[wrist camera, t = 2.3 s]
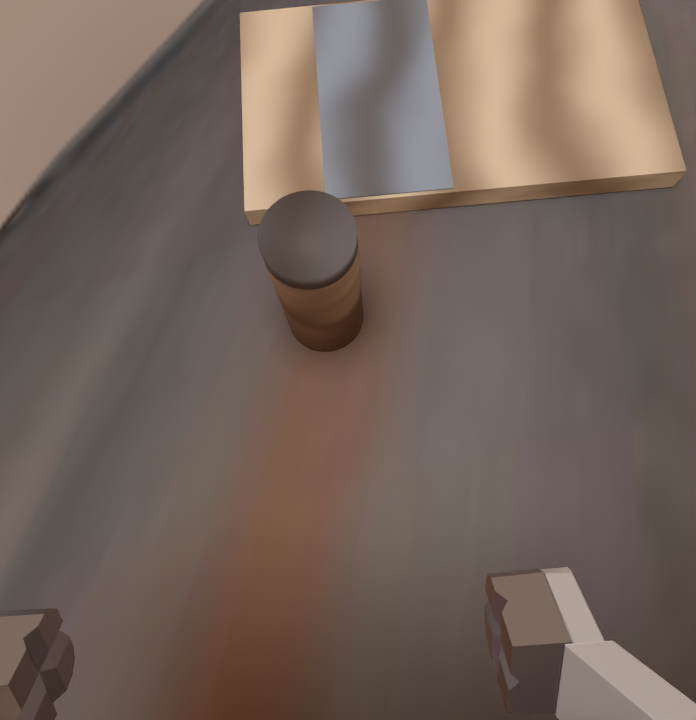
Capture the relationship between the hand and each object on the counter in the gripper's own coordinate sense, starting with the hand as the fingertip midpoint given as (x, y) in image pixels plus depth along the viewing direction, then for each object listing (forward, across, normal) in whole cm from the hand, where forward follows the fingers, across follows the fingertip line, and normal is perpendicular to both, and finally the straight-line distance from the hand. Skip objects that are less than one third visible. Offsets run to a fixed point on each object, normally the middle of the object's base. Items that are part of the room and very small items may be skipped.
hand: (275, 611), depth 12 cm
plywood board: (+31, -9, -6) cm, 33 cm away
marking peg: (+22, -1, +3) cm, 22 cm away
